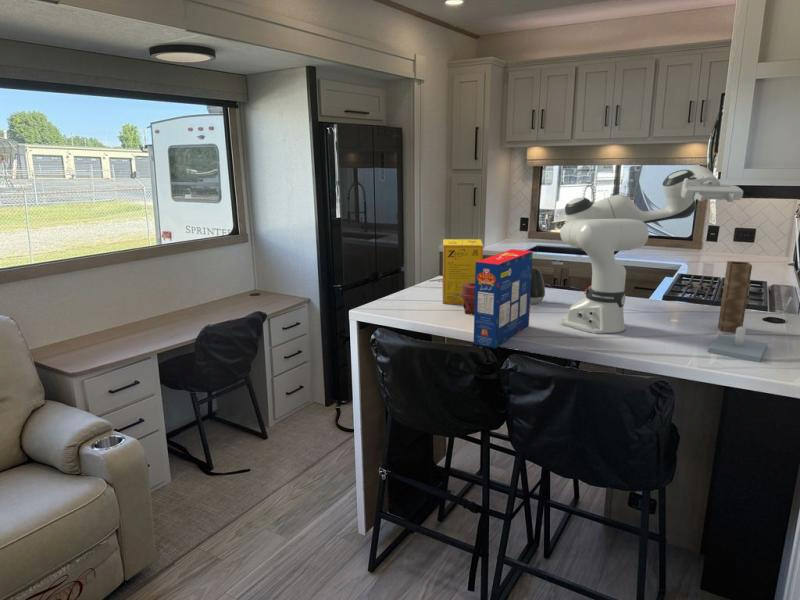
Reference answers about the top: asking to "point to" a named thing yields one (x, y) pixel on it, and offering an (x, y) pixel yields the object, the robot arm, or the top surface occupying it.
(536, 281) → the dark gray domed cylinder
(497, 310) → the blue food box
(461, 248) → the packaging box
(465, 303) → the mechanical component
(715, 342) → the base plate
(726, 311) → the walnut sleeve
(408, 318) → the top surface
